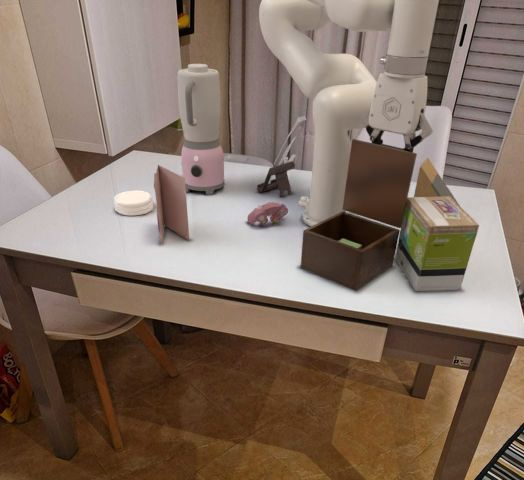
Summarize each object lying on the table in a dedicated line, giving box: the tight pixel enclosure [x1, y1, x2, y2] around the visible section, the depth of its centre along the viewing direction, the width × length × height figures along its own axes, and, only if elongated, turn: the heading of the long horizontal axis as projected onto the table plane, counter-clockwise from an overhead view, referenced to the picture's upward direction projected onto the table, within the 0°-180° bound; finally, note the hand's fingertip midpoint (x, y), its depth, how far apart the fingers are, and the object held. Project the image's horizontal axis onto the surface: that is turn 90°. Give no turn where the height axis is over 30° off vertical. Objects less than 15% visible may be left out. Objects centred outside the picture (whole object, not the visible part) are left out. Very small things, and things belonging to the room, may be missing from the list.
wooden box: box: [300, 211, 401, 292], centre depth 107 cm, size 15×15×9 cm
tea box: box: [394, 196, 480, 292], centre depth 103 cm, size 15×10×15 cm, turn 5°
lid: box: [342, 138, 418, 229], centre depth 105 cm, size 15×15×5 cm
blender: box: [176, 63, 226, 196], centre depth 137 cm, size 16×12×32 cm
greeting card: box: [153, 164, 190, 245], centre depth 117 cm, size 11×7×15 cm, turn 5°
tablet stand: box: [256, 160, 296, 198], centre depth 144 cm, size 9×8×8 cm
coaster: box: [113, 190, 154, 217], centre depth 133 cm, size 10×10×4 cm
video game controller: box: [246, 201, 289, 226], centre depth 126 cm, size 10×5×7 cm, turn 118°
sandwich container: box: [413, 157, 461, 207], centre depth 125 cm, size 9×15×15 cm, turn 64°
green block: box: [339, 239, 362, 250], centre depth 107 cm, size 5×5×5 cm
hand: (389, 163), depth 104 cm, fingers closed on lid, 6 cm apart
